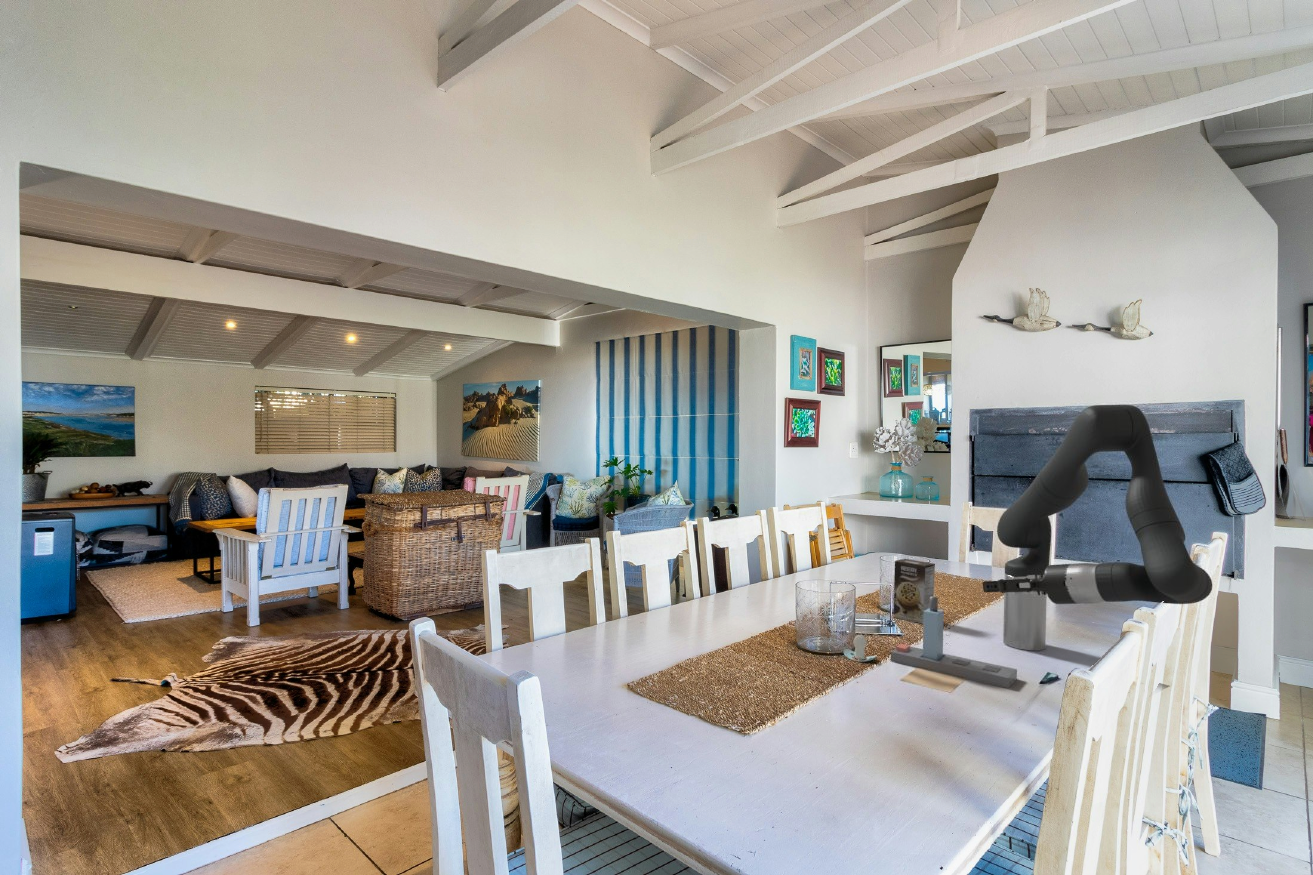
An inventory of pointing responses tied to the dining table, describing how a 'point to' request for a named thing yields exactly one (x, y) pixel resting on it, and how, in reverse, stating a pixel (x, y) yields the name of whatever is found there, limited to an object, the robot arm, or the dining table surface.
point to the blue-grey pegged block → (933, 631)
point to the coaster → (933, 680)
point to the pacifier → (858, 650)
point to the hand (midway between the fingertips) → (994, 586)
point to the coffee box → (912, 589)
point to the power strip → (956, 666)
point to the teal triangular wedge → (1048, 678)
